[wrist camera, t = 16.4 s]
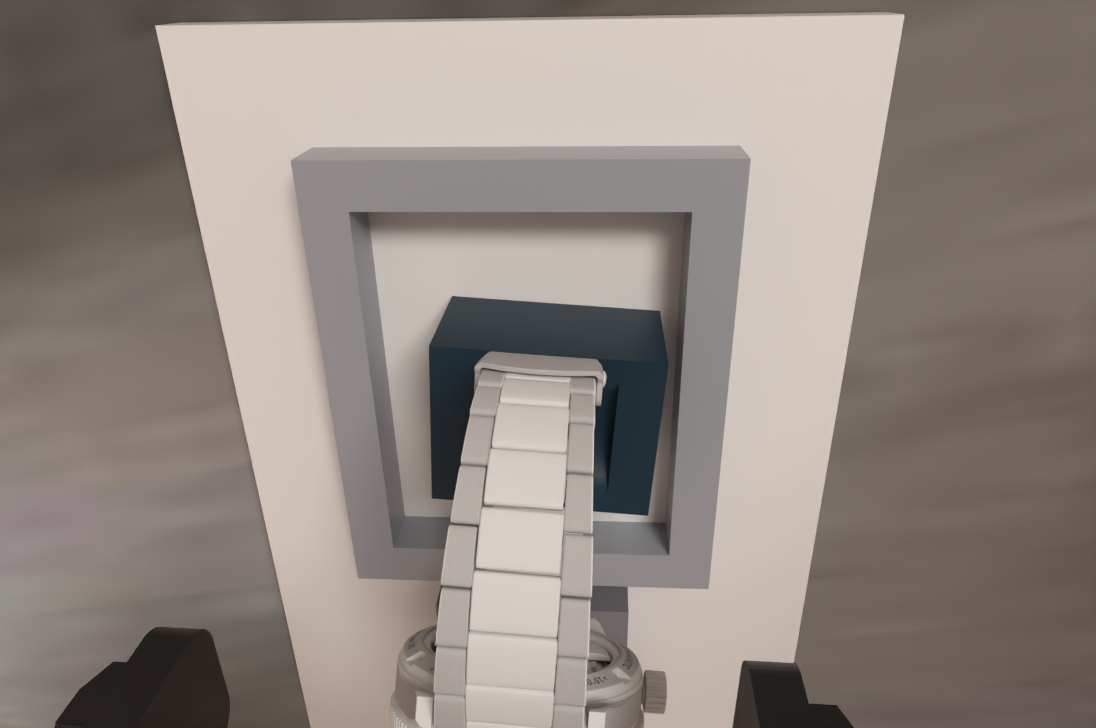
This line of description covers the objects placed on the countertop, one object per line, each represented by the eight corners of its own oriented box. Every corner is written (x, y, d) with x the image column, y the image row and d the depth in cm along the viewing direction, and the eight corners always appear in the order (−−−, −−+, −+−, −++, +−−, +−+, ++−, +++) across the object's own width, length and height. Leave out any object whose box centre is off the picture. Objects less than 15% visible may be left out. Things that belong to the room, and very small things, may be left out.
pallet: (180, 22, 19) (117, 30, 17) (886, 12, 18) (931, 18, 16) (321, 704, 30) (296, 770, 28) (772, 722, 29) (787, 793, 26)
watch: (452, 489, 24) (346, 857, 14) (451, 231, 20) (306, 481, 10) (638, 504, 23) (665, 887, 14) (671, 246, 20) (739, 516, 10)
